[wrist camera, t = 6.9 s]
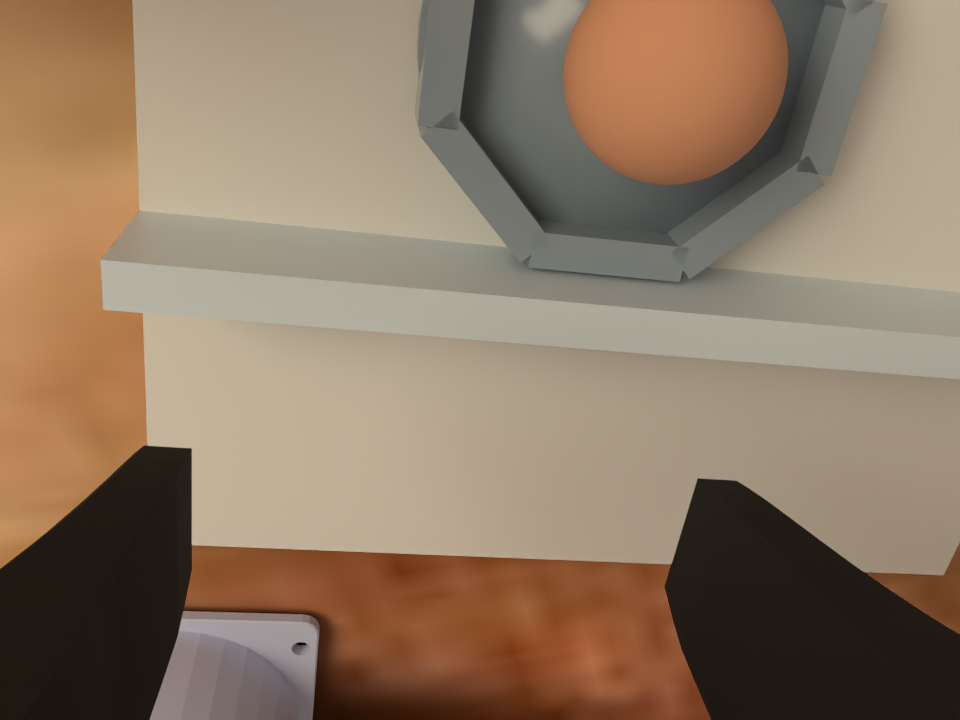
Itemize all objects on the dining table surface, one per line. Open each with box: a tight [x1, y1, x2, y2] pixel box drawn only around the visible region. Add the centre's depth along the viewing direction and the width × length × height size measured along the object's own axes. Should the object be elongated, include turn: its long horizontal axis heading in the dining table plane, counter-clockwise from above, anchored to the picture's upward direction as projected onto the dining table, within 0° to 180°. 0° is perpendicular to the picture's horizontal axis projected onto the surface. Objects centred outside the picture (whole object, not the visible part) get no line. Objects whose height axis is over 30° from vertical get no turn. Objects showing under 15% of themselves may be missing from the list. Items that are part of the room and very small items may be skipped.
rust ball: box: [563, 0, 788, 185], centre depth 16 cm, size 4×4×4 cm
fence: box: [101, 210, 960, 379], centre depth 19 cm, size 1×23×3 cm, turn 81°
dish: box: [415, 0, 887, 282], centre depth 17 cm, size 9×9×2 cm
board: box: [132, 0, 960, 575], centre depth 21 cm, size 18×23×1 cm
